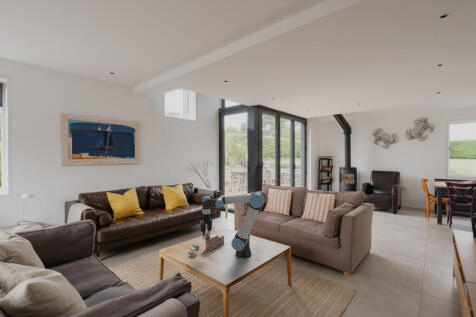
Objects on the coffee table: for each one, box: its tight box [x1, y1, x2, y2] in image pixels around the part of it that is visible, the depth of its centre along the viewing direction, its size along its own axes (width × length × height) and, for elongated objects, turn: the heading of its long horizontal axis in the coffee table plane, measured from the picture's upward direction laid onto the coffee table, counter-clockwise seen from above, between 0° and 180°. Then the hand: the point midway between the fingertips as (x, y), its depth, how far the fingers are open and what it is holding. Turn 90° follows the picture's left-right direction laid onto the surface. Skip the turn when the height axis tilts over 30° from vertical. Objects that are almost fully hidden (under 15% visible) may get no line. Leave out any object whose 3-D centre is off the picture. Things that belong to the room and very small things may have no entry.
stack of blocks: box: [205, 233, 225, 251], centre depth 237 cm, size 21×6×12 cm, turn 144°
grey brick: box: [191, 243, 200, 251], centre depth 230 cm, size 6×4×4 cm, turn 56°
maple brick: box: [189, 250, 198, 258], centre depth 216 cm, size 6×4×4 cm, turn 69°
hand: (206, 238), depth 215 cm, fingers closed on walnut brick, 3 cm apart
